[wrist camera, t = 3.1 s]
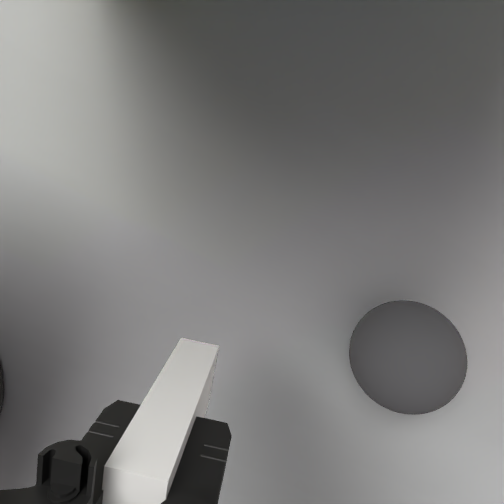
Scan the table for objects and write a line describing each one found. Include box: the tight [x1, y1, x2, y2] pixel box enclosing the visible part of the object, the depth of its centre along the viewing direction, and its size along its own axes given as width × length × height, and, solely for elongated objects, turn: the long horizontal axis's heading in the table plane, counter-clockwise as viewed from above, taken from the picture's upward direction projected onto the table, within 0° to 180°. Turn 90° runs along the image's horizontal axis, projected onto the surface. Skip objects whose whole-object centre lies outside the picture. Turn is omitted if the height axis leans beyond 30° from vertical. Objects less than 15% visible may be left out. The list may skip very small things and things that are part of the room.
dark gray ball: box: [349, 301, 467, 414], centre depth 20 cm, size 6×6×6 cm
